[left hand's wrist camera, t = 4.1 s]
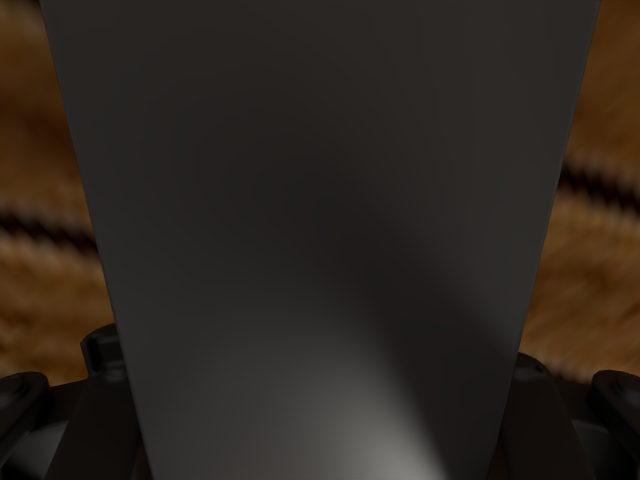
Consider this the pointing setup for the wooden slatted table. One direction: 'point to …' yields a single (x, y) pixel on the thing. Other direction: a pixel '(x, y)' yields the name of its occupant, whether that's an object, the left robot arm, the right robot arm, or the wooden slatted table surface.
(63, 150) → the wooden slatted table surface
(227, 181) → the bar
